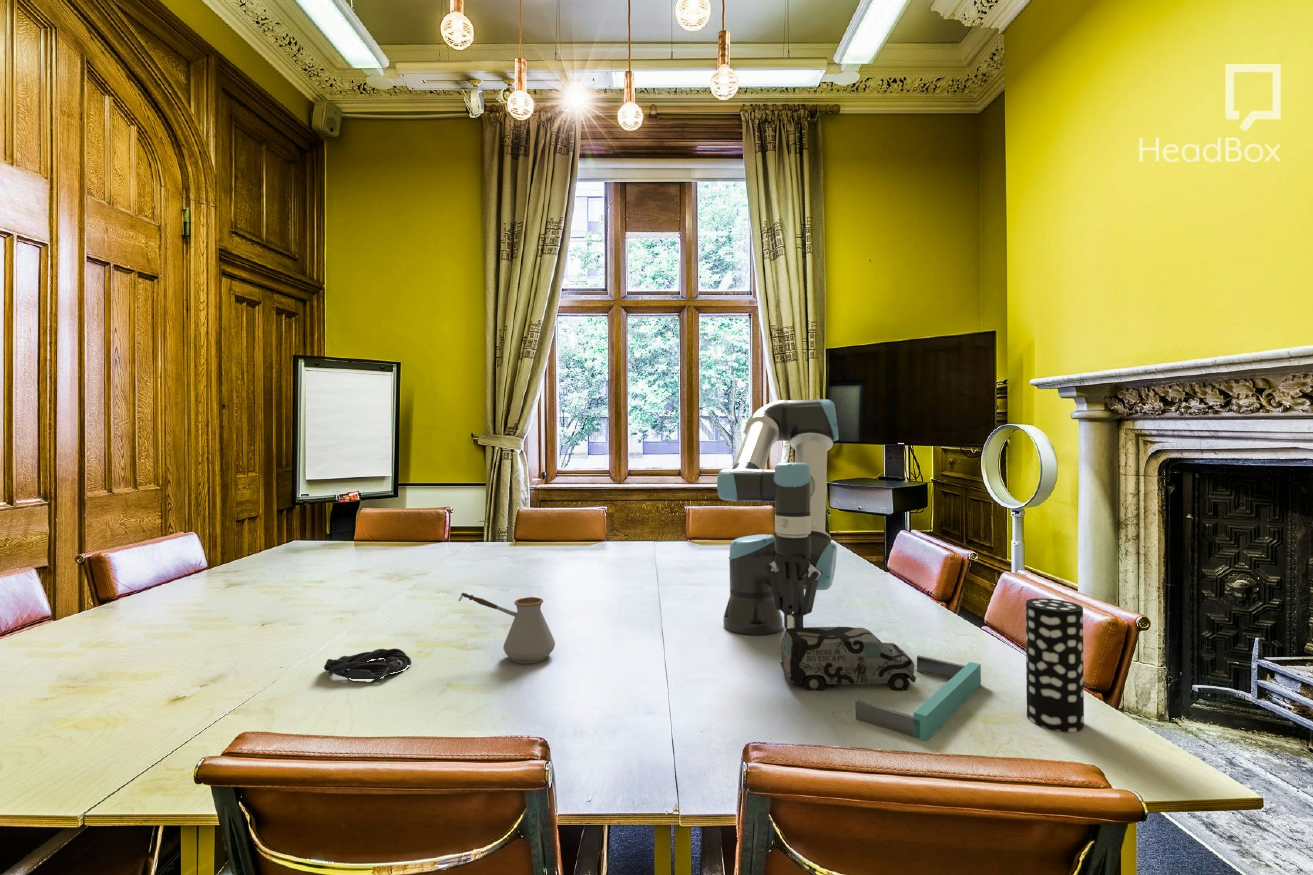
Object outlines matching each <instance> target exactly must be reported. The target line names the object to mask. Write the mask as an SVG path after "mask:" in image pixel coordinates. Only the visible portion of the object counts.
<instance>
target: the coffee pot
mask: <svg viewBox="0 0 1313 875" xmlns="http://www.w3.org/2000/svg"><path fill="white" fill-rule="evenodd" d="M460 594H461V595H460V597H459V598H458V602H461V601H462V599H463V598H467V599H468V600H469V601H474V602H475V603H477V604H479V605H482V606H484V607H488V608H491V609H494V610H498V611H501V612H502V613H505V614H507V615H509V616H512V617H514V618H513V621H512V624H511V627H510V628H509V631H508V634H507V636H506V639H505V641H504V644H503V648H502V650H503V651H504V653H505V654H506V656H507V657H508V658H509V659H510V660H512V661H513V662H514V663H517V664H522V665H527V664H536V663H540V662H543V661H544V660H546V659H547V657H548V656H549V655H550V654H551V653H552V652H553V651H554V649H555V646H556V642H555V641H556V640H555V639H554V636H553V635H552V632H551V630H550V627H549V625H548V623H547V621H546V618H545V617H544V614H543V612H542V609H541V607H542V604H543V603H544V599H543V598H541V597H534V596H529V597H524V598H519V599H516V600H514V605H515V606H516V610H517V612H516V611H513V610H510V609H507V608H504V607H502V606H499V605H497V604H495V603H493V602H491V601H488V600H486V599H484V598H481V597H477V596H474V595H473V594H471V595H470V594H468V593H466V592H461V593H460Z"/></svg>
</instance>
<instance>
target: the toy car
mask: <svg viewBox="0 0 1313 875" xmlns="http://www.w3.org/2000/svg"><path fill="white" fill-rule="evenodd" d="M779 664H780V666H781V669H782V671H783V674H784V675H785V677H786V679H787V681H788V683H789V685H794V684H800V685H801V684H803V689H805V691H811V692H813V691H815V692H816V691H817V692H821V691H824V690H825V686H826V685H850V684H851V685H854V684H855V685H856V684H857V685H860V684H863V685H864V684H887V687H888V688H889V690H890V691H894V692H895V691H896V692H897V691H898V692H904V691H907V690H908V689H909V688H910V681H911V682H912V683H916V680H917V677H916V676H915V675H914V674H915V662H914V660H913V659H912V658H911V657H910V656H909V655H908V654H907V653H906V652H905V651H904V650H903V649H902V648H900V646H898V645H897V644H895V643H894V642H883V641H881V640H880V639H879V637H877V636H876V635H875V634H874V633H873V632H871V631H870V630H868V629H867V628H864V627H851V626H811V627H806V626H803V628H789V629H785V632H784V635H783V639H782V643H781V661H780V663H779Z"/></svg>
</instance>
